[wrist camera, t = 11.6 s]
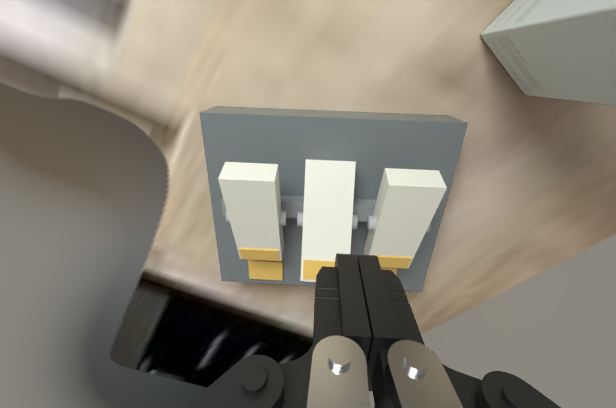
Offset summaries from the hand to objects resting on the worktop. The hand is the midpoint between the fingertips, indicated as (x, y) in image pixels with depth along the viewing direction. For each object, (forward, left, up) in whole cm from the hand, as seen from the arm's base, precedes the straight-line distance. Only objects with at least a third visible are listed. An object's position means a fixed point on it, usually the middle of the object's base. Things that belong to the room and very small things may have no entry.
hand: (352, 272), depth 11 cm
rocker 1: (+4, -6, -13) cm, 15 cm away
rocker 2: (+4, +6, -13) cm, 15 cm away
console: (+6, 0, -19) cm, 20 cm away
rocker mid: (+5, 0, -12) cm, 13 cm away
